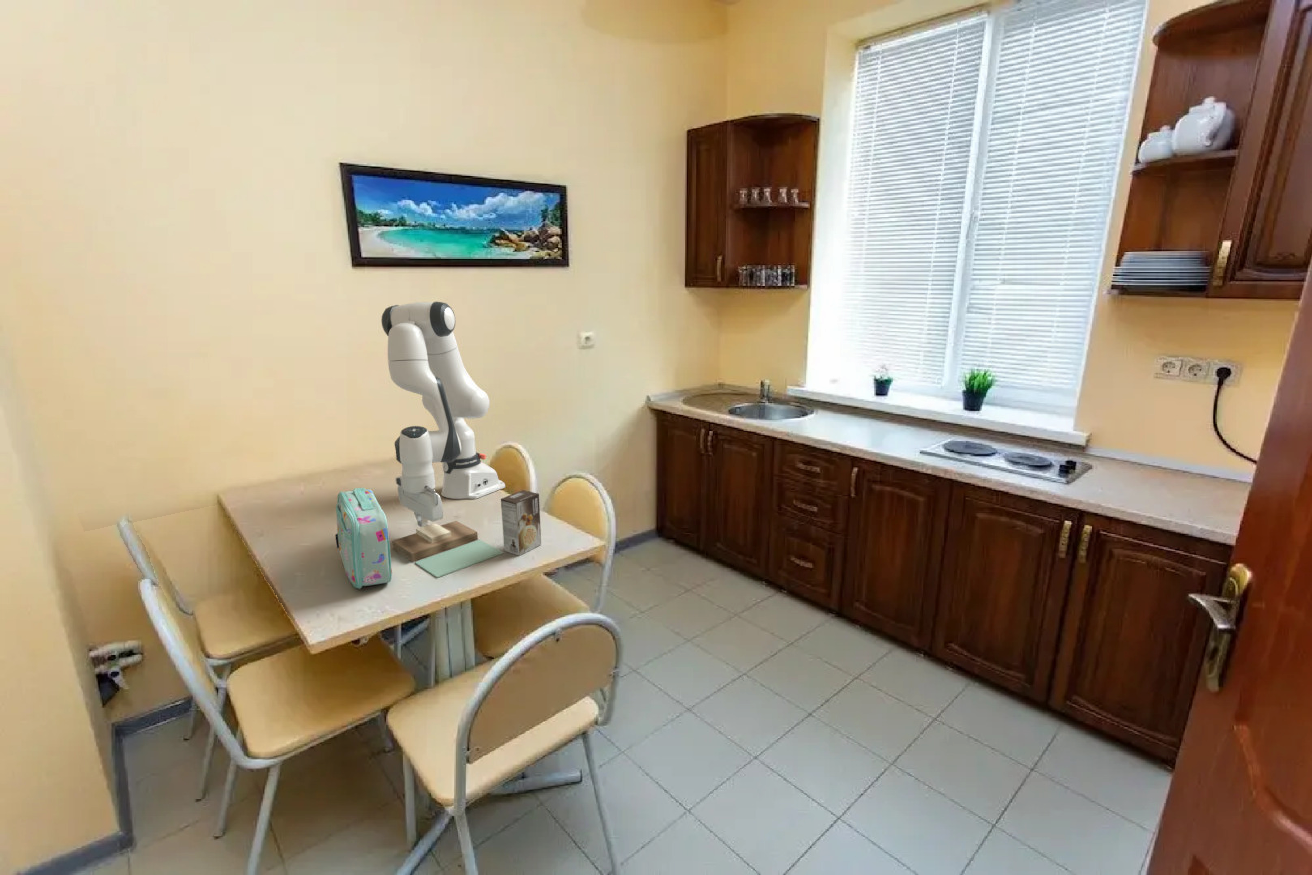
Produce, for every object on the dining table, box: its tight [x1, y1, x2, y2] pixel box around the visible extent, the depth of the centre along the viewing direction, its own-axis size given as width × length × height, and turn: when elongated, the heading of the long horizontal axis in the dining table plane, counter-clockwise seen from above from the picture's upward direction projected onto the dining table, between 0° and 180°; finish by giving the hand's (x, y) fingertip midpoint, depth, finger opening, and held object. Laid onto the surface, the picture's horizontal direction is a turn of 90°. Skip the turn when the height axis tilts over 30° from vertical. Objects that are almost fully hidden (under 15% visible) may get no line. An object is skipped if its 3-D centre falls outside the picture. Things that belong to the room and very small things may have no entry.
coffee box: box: [500, 489, 542, 557], centre depth 172 cm, size 9×6×16 cm
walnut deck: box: [391, 520, 479, 563], centre depth 175 cm, size 20×12×2 cm, turn 138°
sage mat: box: [414, 539, 504, 579], centre depth 167 cm, size 20×12×1 cm, turn 138°
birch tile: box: [415, 522, 451, 543], centre depth 176 cm, size 6×9×2 cm, turn 48°
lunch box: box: [334, 487, 393, 589], centre depth 157 cm, size 27×10×21 cm, turn 35°
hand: (422, 526), depth 179 cm, fingers closed
